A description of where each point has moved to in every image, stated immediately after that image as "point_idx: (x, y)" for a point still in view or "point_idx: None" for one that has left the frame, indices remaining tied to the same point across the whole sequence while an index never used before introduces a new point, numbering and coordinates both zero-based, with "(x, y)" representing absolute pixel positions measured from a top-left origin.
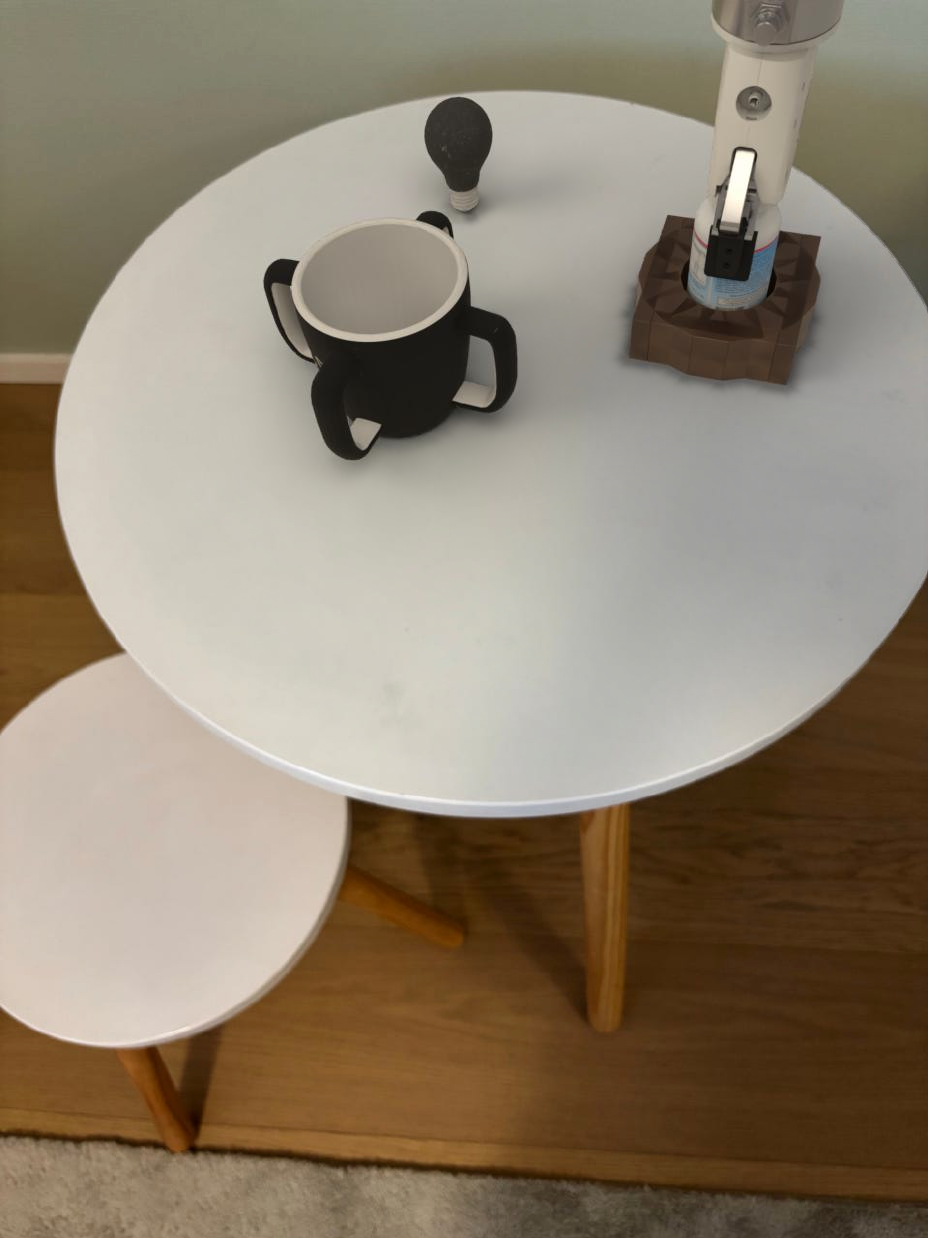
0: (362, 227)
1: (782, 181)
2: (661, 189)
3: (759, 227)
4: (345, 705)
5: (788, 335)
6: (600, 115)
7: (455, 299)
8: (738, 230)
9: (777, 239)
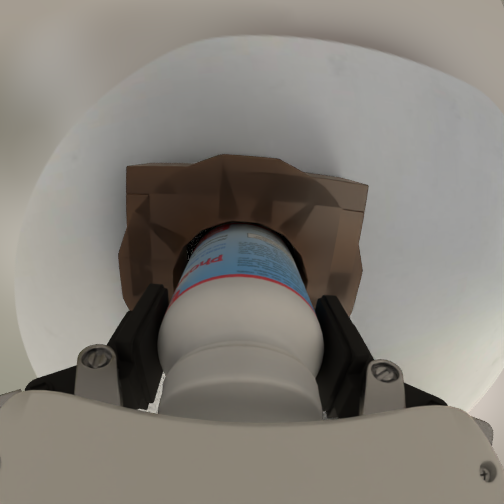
0: None
1: (498, 459)
2: (77, 330)
3: (300, 338)
4: (492, 372)
5: (348, 196)
6: (37, 367)
7: None
8: (486, 423)
9: (258, 270)
